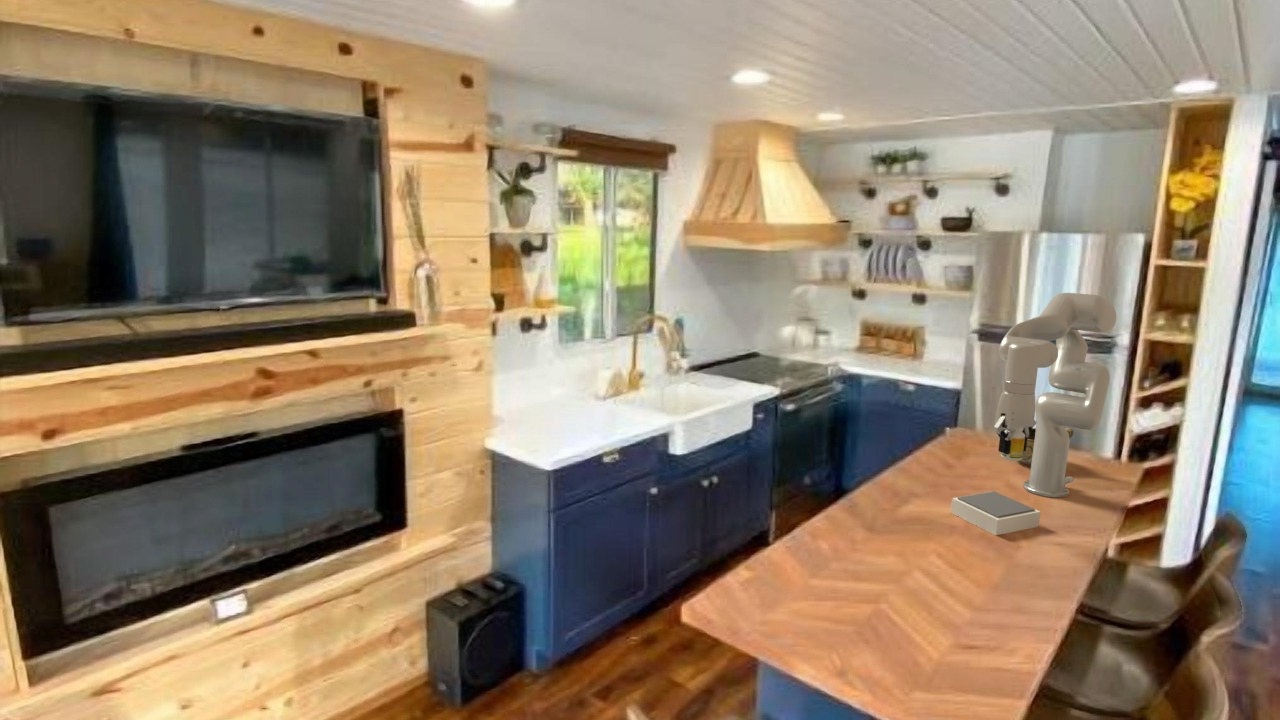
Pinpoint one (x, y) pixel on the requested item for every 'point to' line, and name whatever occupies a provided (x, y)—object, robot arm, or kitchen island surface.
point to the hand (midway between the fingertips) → (1012, 450)
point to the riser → (995, 512)
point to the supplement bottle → (1015, 445)
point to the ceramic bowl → (1030, 445)
